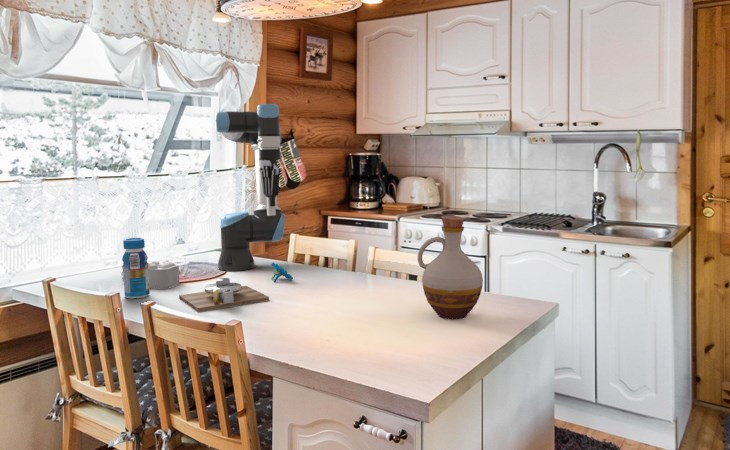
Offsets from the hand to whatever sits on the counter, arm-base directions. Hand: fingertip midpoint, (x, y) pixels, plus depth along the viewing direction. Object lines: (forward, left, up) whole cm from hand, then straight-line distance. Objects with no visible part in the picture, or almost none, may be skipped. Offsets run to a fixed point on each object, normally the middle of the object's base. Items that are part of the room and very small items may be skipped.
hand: (271, 215), depth 215 cm
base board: (+6, -21, -26) cm, 34 cm away
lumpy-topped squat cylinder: (-29, -33, -27) cm, 51 cm away
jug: (+64, +28, -27) cm, 75 cm away
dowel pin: (+14, -26, -25) cm, 39 cm away
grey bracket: (+9, -22, -24) cm, 34 cm away
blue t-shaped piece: (-8, +7, -27) cm, 29 cm away
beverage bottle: (-16, -44, -27) cm, 54 cm away
